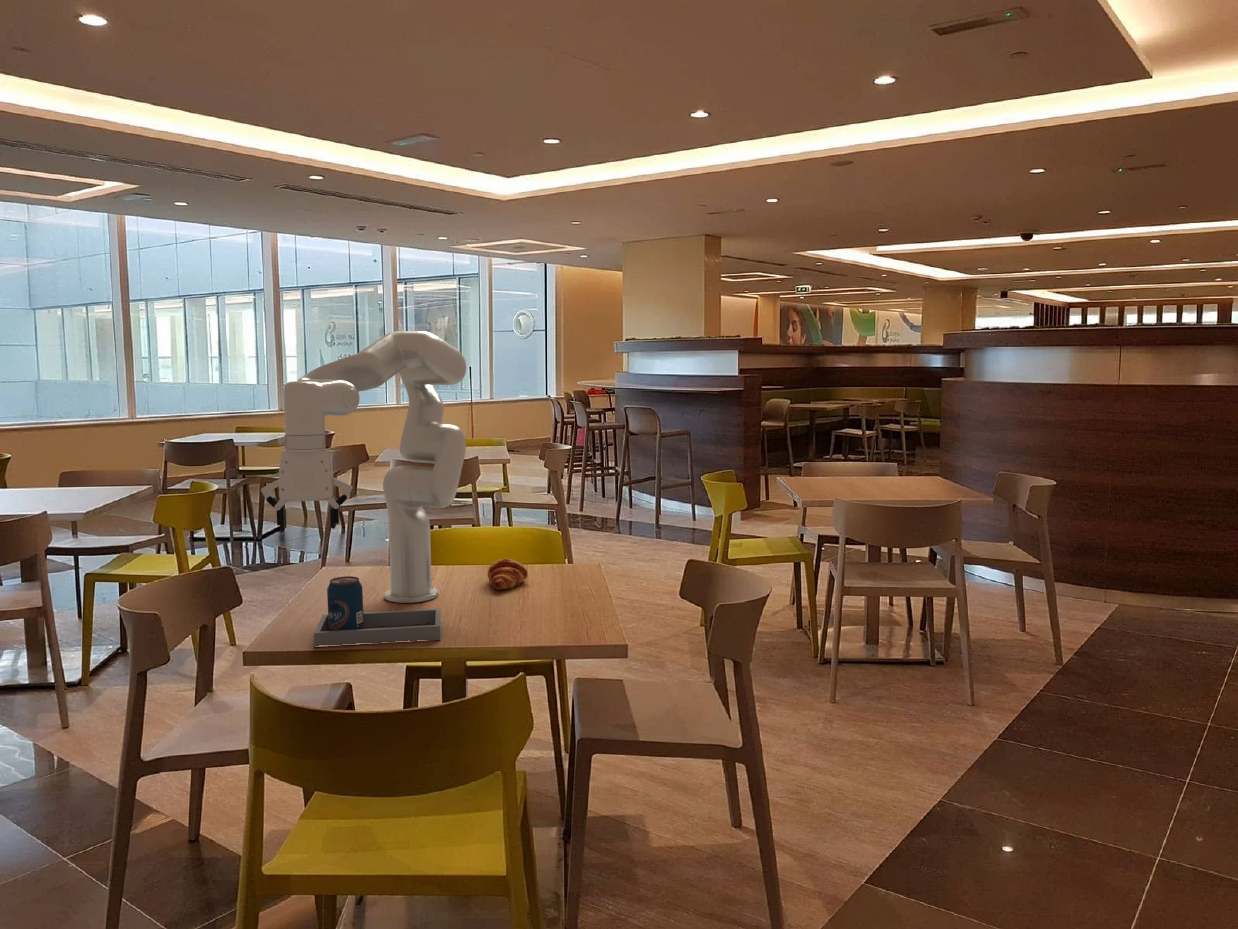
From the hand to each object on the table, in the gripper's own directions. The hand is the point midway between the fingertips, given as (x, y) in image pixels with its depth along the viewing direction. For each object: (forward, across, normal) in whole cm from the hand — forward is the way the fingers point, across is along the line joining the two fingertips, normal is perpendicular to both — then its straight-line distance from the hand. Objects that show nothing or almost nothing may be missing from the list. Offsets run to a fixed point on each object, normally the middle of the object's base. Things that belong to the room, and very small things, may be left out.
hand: (308, 528), depth 179 cm
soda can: (+23, +7, +1) cm, 24 cm away
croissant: (+23, +42, +39) cm, 62 cm away
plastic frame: (+23, +13, +1) cm, 27 cm away
